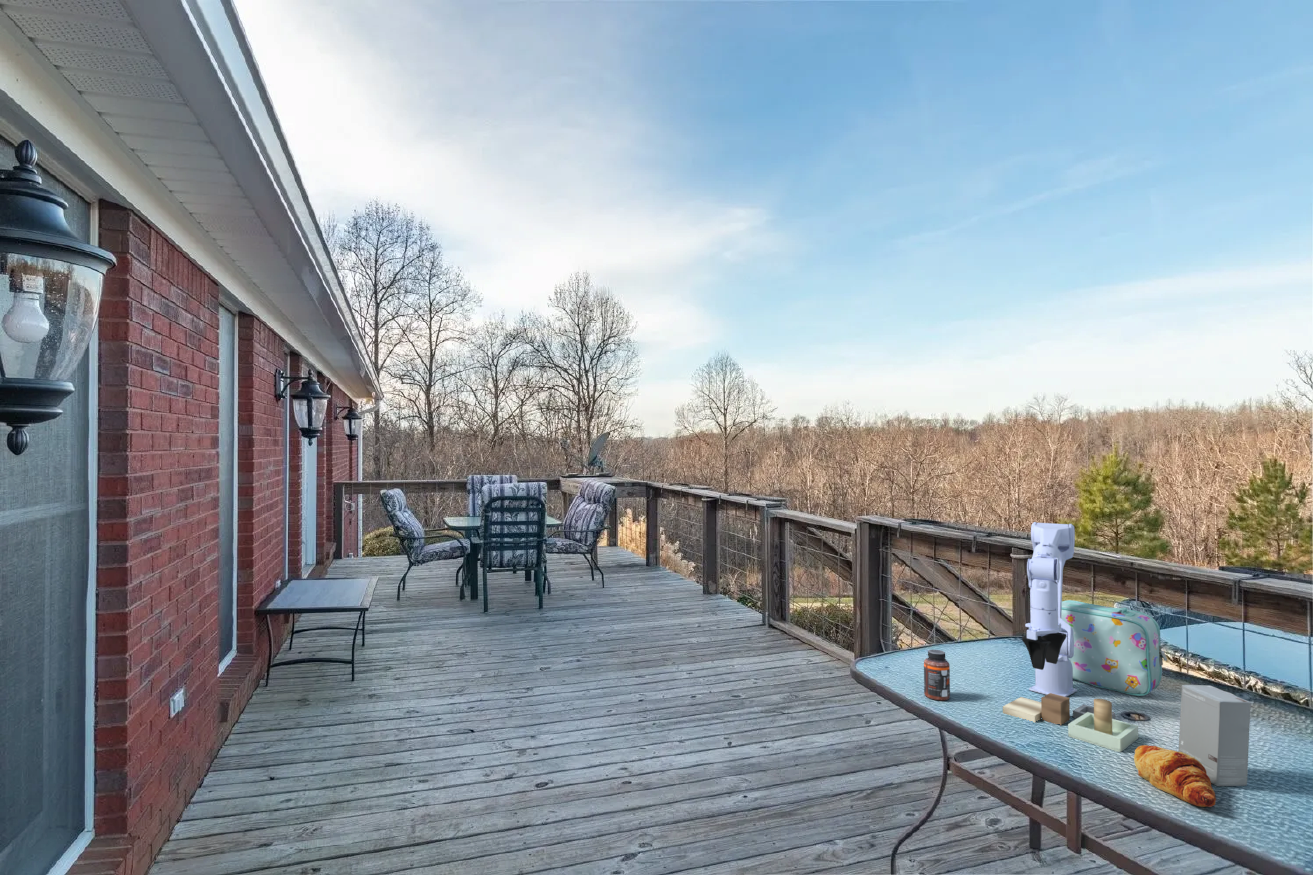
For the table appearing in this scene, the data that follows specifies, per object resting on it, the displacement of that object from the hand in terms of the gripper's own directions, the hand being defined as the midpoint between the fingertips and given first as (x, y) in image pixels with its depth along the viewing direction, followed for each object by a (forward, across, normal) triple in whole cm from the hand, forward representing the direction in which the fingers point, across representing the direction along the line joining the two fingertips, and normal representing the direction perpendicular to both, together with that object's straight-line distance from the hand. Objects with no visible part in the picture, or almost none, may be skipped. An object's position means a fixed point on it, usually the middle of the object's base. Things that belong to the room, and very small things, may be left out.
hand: (1044, 665), depth 154 cm
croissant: (+11, +20, +29) cm, 37 cm away
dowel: (+10, +6, +14) cm, 18 cm away
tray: (+11, +6, +14) cm, 19 cm away
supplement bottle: (+11, +12, -20) cm, 26 cm away
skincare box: (+11, +10, +33) cm, 36 cm away
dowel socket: (+10, -4, +9) cm, 14 cm away
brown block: (+10, +4, +4) cm, 12 cm away
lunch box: (+10, -32, +2) cm, 33 cm away
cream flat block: (+11, +5, -2) cm, 12 cm away
